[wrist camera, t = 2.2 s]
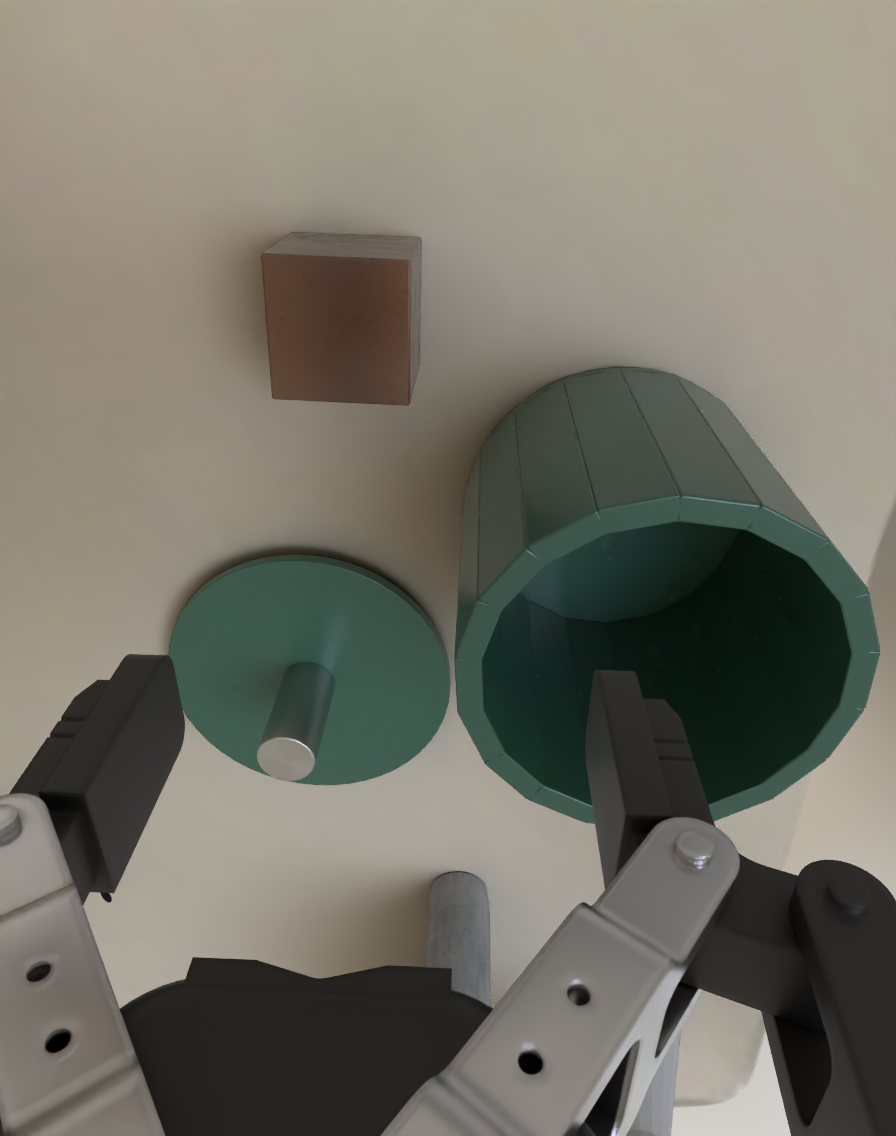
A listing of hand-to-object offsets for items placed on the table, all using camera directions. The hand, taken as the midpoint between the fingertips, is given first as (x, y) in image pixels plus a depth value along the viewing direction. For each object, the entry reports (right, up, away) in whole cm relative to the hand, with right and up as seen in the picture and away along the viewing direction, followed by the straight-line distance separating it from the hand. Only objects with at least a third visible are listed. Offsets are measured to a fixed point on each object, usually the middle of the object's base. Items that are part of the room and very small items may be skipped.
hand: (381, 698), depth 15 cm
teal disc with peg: (-5, -3, +22) cm, 23 cm away
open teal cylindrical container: (+8, +5, +18) cm, 20 cm away
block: (-2, +12, +14) cm, 19 cm away
